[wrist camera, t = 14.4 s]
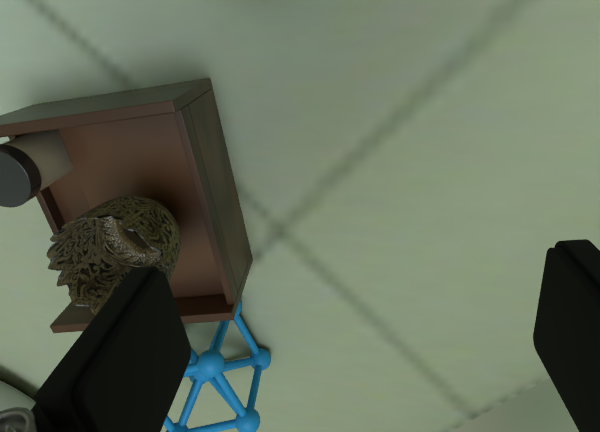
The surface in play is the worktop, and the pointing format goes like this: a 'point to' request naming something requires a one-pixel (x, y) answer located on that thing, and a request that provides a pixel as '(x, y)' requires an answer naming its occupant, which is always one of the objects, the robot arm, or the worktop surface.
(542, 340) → the robot arm
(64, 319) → the spice rack
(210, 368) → the molecular structure
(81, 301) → the brown hollow bell-shaped piece
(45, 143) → the spice jar
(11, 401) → the bowl
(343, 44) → the worktop surface
